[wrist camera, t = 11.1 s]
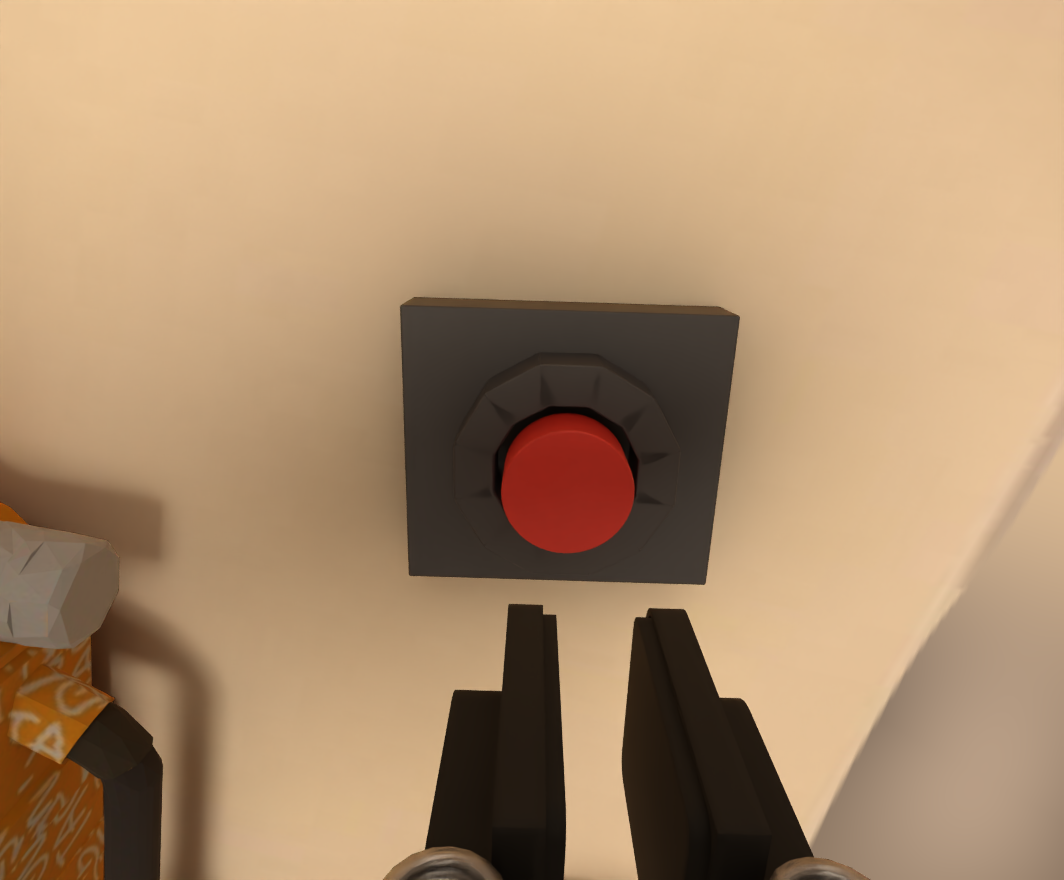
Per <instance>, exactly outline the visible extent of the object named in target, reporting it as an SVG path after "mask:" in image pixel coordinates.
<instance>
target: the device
mask: <svg viewBox="0 0 1064 880" xmlns="http://www.w3.org/2000/svg"><path fill="white" fill-rule="evenodd" d="M119 560H120V557H119V556H118V555H117V553H116V552H115V550H114V549H113V548H112V546H111V545H110V543H109V542H108V540H103V539H99V538H94V537H90V536H85V535H81V534H76V533H72V532H67V531H61V530H55V529H49V528H43V527H38V526H32V525H28V524H27V523H26V522H25V521H24V520H23V519H22V518H21V517H20V516H19V515H18V514H17V513H16V512H15V511H14V510H13V509H12V508H11V507H9V506H7V505H5V504H3V503H1V502H0V880H104V869H105V880H160V850H161V814H162V778H163V764H162V760H161V758H160V756H159V754H158V753H157V751H156V750H155V748H154V747H153V745H152V743H153V737H152V736H151V735H150V734H149V733H148V732H147V731H146V730H145V729H144V728H143V727H142V726H141V725H140V724H139V723H138V722H137V721H136V720H135V719H134V718H133V717H132V716H131V715H130V714H129V713H128V712H127V711H126V710H124V709H123V708H121V707H119V706H117V705H116V704H114V703H112V702H113V701H114V699H115V698H113V697H112V696H110V695H108V694H106V693H104V692H102V691H100V690H98V689H97V688H95V687H93V686H92V680H91V635H92V634H93V633H94V632H96V631H97V630H98V629H99V628H100V627H101V625H102V623H103V621H104V619H105V617H106V615H107V613H108V611H109V609H110V607H111V605H112V603H113V601H114V598H115V596H116V594H117V592H118V590H119ZM103 790H104V816H103Z"/></svg>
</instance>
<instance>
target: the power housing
mask: <svg viewBox="0 0 1064 880" xmlns="http://www.w3.org/2000/svg"><path fill="white" fill-rule="evenodd" d="M400 316H401V347H402V378H403V408H404V439H405V470H406V500H407V531H408V562H409V575H410V576H435V577H467V578H500V579H533V580H566V581H599V582H632V583H664V584H697V585H704V584H705V583H706V576H707V568H708V560H709V552H710V545H711V537H712V529H713V521H714V514H715V506H716V498H717V491H718V483H719V475H720V467H721V460H722V452H723V444H724V436H725V429H726V421H727V413H728V405H729V398H730V390H731V382H732V374H733V367H734V359H735V351H736V343H737V336H738V328H739V320H740V317H739V316H738V315H736V314H734V313H732V312H729V311H727V310H725V309H723V308H721V307H707V306H676V305H644V304H612V303H581V302H549V301H518V300H486V299H454V298H423V297H414V298H412V299H411V300H409V301H407V302H406V303H404V304H402V305H401V306H400ZM558 413H575V414H580V415H585V416H587V417H590V418H593V419H595V420H596V421H598V422H600V423H602V424H603V425H604V426H606V427H607V428H608V429H609V430H610V431H611V432H612V433H613V434H614V435H615V437H616V438H617V439H618V441H619V443H620V444H621V446H622V449H623V451H624V454H625V456H626V459H627V461H628V464H629V467H630V469H631V472H632V476H633V479H634V487H635V490H634V501H633V506H632V509H631V512H630V514H629V516H628V518H627V520H626V522H625V523H624V525H623V526H622V527H621V528H620V530H619V531H618V532H617V533H616V534H615V535H614V536H613V537H612V538H610V539H609V540H608V541H606V542H605V543H603V544H601V545H599V546H597V547H595V548H593V549H590V550H586V551H583V552H577V553H556V552H552V551H547V550H544V549H541V548H539V547H537V546H535V545H533V544H531V543H530V542H528V541H527V540H525V539H524V538H523V537H522V536H521V535H519V534H518V532H517V531H516V530H515V529H514V528H513V526H512V525H511V524H510V522H509V520H508V518H507V516H506V514H505V511H504V509H503V504H502V499H501V486H502V478H503V471H504V463H505V459H506V455H507V452H508V449H509V447H510V445H511V444H512V442H513V440H514V439H515V438H516V436H517V435H518V434H519V433H520V432H521V431H522V430H523V429H524V428H525V427H526V426H528V425H529V424H531V423H532V422H534V421H536V420H538V419H540V418H542V417H545V416H548V415H552V414H558Z"/></svg>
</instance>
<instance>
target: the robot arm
mask: <svg viewBox="0 0 1064 880" xmlns="http://www.w3.org/2000/svg"><path fill="white" fill-rule="evenodd" d="M622 776H623V784H624V790H625V797H626V803H627V810H628V816H629V822H630V829H631V835H632V842H633V848H634V855H635V861H636V868H637V874H638V880H870V879H869V878H867V877H865V876H864V875H862V874H861V873H859V872H857V871H856V870H854V869H852V868H851V867H848V866H845V865H843V864H840V863H837V862H834V861H832V860H829V859H822V858H814V856H813V854H812V852H811V849H810V847H809V845H808V842H807V840H806V838H805V836H804V833H803V831H802V829H801V826H800V824H799V822H798V820H797V817H796V815H795V813H794V810H793V808H792V806H791V804H790V801H789V799H788V797H787V794H786V792H785V790H784V788H783V785H782V783H781V781H780V778H779V776H778V774H777V772H776V769H775V767H774V765H773V762H772V760H771V758H770V756H769V753H768V751H767V749H766V746H765V744H764V742H763V740H762V737H761V735H760V733H759V730H758V728H757V726H756V723H755V721H754V719H753V717H752V714H751V712H750V710H749V708H748V706H747V704H746V703H745V701H743V700H742V699H741V698H719V695H718V693H717V690H716V688H715V685H714V682H713V680H712V677H711V675H710V672H709V669H708V667H707V664H706V662H705V659H704V656H703V654H702V651H701V649H700V646H699V643H698V641H697V638H696V636H695V633H694V631H693V628H692V625H691V623H690V620H689V618H688V615H687V613H686V611H685V610H684V609H657V608H649V609H648V611H647V615H646V618H644V617H636V618H635V621H634V628H633V639H632V650H631V661H630V671H629V682H628V693H627V704H626V715H625V726H624V737H623V747H622ZM565 846H566V803H565V782H564V762H563V742H562V721H561V701H560V681H559V661H558V640H557V620H556V615H545V614H543V605H525V604H509V606H508V618H507V632H506V645H505V659H504V672H503V685H502V691H476V690H455V691H454V693H453V697H452V701H451V707H450V712H449V718H448V724H447V729H446V735H445V740H444V746H443V752H442V757H441V763H440V768H439V774H438V779H437V785H436V791H435V796H434V802H433V807H432V813H431V819H430V824H429V830H428V835H427V841H426V847H425V850H424V851H421V852H418V853H415V854H412V855H411V856H409V857H408V858H406V859H405V860H403V861H402V862H400V863H399V864H397V865H396V866H394V867H393V868H392V870H391V871H390V872H389V873H388V874H387V875H386V877H385V878H384V879H383V880H564V864H565Z"/></svg>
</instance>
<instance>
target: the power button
mask: <svg viewBox="0 0 1064 880" xmlns="http://www.w3.org/2000/svg"><path fill="white" fill-rule="evenodd" d="M634 490H635V487H634V479H633V476H632V472H631V469H630V467H629V464H628V461H627V459H626V456H625V454H624V451H623V449H622V446H621V444H620V443H619V441H618V439H617V438H616V437H615V435H614V434H613V433H612V432H611V431H610V430H609V429H608V428H607V427H606V426H604V425H603V424H602V423H600V422H598V421H596V420H595V419H593V418H590V417H587V416H585V415H580V414H575V413H558V414H552V415H548V416H545V417H542V418H540V419H538V420H536V421H534V422H532V423H531V424H529V425H528V426H526V427H525V428H524V429H523V430H522V431H521V432H520V433H519V434H518V435H517V436H516V438H515V439H514V440H513V442H512V444H511V445H510V447H509V449H508V452H507V455H506V459H505V463H504V471H503V478H502V486H501V499H502V504H503V509H504V511H505V514H506V516H507V518H508V520H509V522H510V524H511V525H512V526H513V528H514V529H515V530H516V531H517V532H518V534H519V535H521V536H522V537H523V538H524V539H525V540H527V541H528V542H530V543H531V544H533V545H535V546H537V547H539V548H541V549H544V550H547V551H552V552H556V553H577V552H583V551H586V550H590V549H593V548H595V547H597V546H599V545H601V544H603V543H605V542H606V541H608V540H609V539H610V538H612V537H613V536H614V535H615V534H616V533H617V532H618V531H619V530H620V528H621V527H622V526H623V525H624V523H625V522H626V520H627V518H628V516H629V514H630V512H631V509H632V506H633V501H634Z"/></svg>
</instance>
